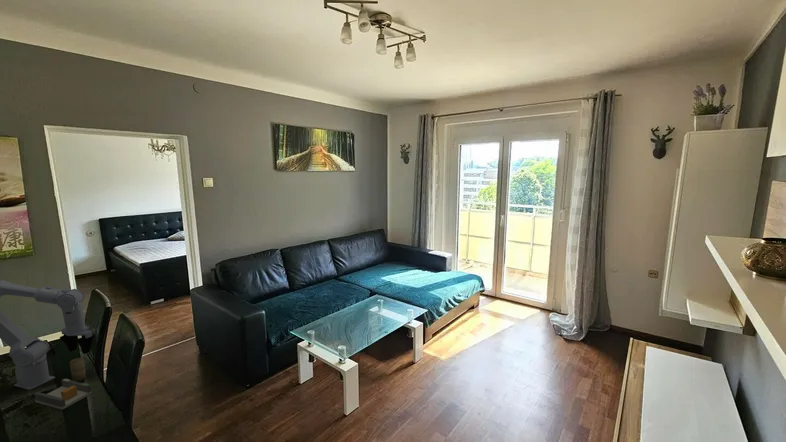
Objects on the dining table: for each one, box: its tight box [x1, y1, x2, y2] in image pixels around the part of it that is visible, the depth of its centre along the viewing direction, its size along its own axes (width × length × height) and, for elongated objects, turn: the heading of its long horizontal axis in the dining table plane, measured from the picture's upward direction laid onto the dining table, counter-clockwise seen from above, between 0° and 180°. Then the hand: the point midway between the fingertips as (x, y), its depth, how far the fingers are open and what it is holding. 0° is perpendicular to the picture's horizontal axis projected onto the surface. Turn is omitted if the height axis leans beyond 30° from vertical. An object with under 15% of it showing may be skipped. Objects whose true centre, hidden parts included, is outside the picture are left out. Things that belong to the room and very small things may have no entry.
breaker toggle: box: [61, 386, 77, 400], centre depth 120 cm, size 2×4×3 cm, turn 165°
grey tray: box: [33, 378, 93, 410], centre depth 121 cm, size 14×9×4 cm, turn 75°
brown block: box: [69, 357, 87, 382], centre depth 132 cm, size 4×4×8 cm
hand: (79, 351), depth 133 cm, fingers open, 7 cm apart
